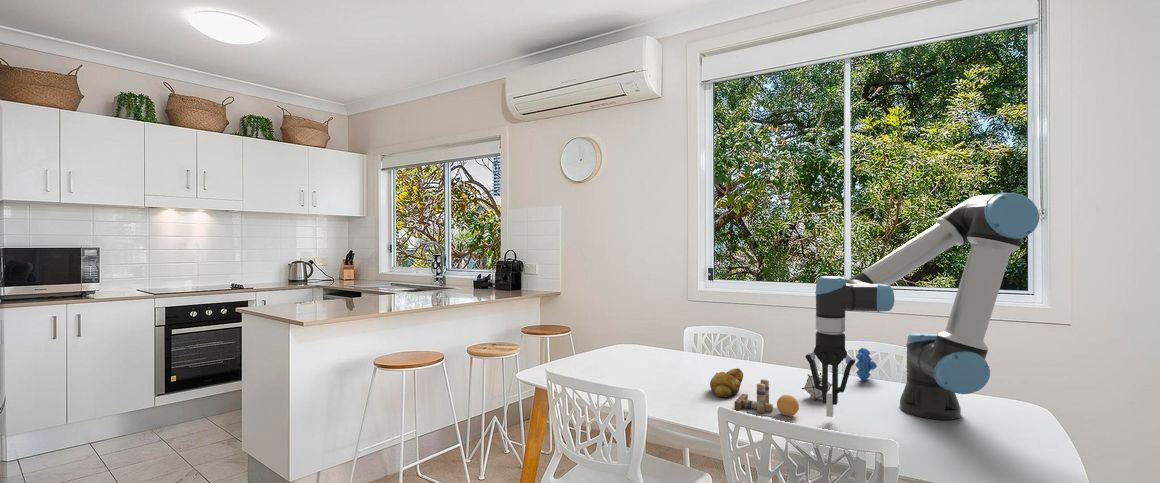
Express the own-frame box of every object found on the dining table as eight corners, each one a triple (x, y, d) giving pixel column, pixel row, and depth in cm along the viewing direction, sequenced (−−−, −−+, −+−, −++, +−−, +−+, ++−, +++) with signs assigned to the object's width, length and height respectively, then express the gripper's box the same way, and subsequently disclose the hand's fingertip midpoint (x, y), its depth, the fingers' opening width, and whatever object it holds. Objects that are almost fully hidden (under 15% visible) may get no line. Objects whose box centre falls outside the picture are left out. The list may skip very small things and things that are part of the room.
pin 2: (770, 407, 164) (769, 379, 164) (768, 410, 162) (767, 381, 162) (761, 406, 166) (761, 378, 166) (759, 408, 164) (759, 380, 163)
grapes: (872, 386, 185) (873, 351, 184) (851, 383, 189) (851, 349, 189) (881, 379, 193) (881, 346, 193) (860, 376, 198) (860, 343, 198)
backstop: (747, 402, 170) (747, 394, 170) (739, 410, 162) (739, 402, 162) (742, 401, 170) (742, 393, 170) (734, 409, 163) (734, 401, 163)
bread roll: (731, 401, 171) (731, 376, 171) (702, 396, 177) (702, 371, 176) (745, 391, 181) (745, 367, 181) (717, 386, 187) (717, 363, 187)
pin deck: (794, 411, 161) (794, 410, 161) (789, 419, 154) (789, 419, 154) (753, 404, 167) (753, 404, 167) (746, 412, 160) (746, 411, 160)
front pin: (773, 402, 161) (744, 398, 166) (771, 405, 159) (742, 401, 164) (773, 410, 162) (744, 405, 166) (771, 414, 159) (742, 408, 164)
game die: (823, 412, 171) (838, 392, 165) (797, 401, 173) (811, 381, 167) (823, 391, 178) (838, 372, 172) (798, 381, 180) (811, 361, 174)
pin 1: (766, 412, 160) (766, 384, 160) (764, 415, 158) (764, 386, 158) (757, 411, 161) (757, 382, 161) (755, 413, 159) (755, 385, 159)
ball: (776, 406, 162) (797, 414, 159) (772, 414, 157) (794, 423, 154) (781, 388, 161) (802, 396, 158) (778, 396, 155) (799, 404, 153)
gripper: (857, 331, 151) (857, 415, 152) (807, 327, 158) (807, 407, 159) (855, 336, 145) (854, 423, 146) (803, 331, 152) (802, 415, 152)
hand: (829, 415), depth 152 cm, fingers closed
